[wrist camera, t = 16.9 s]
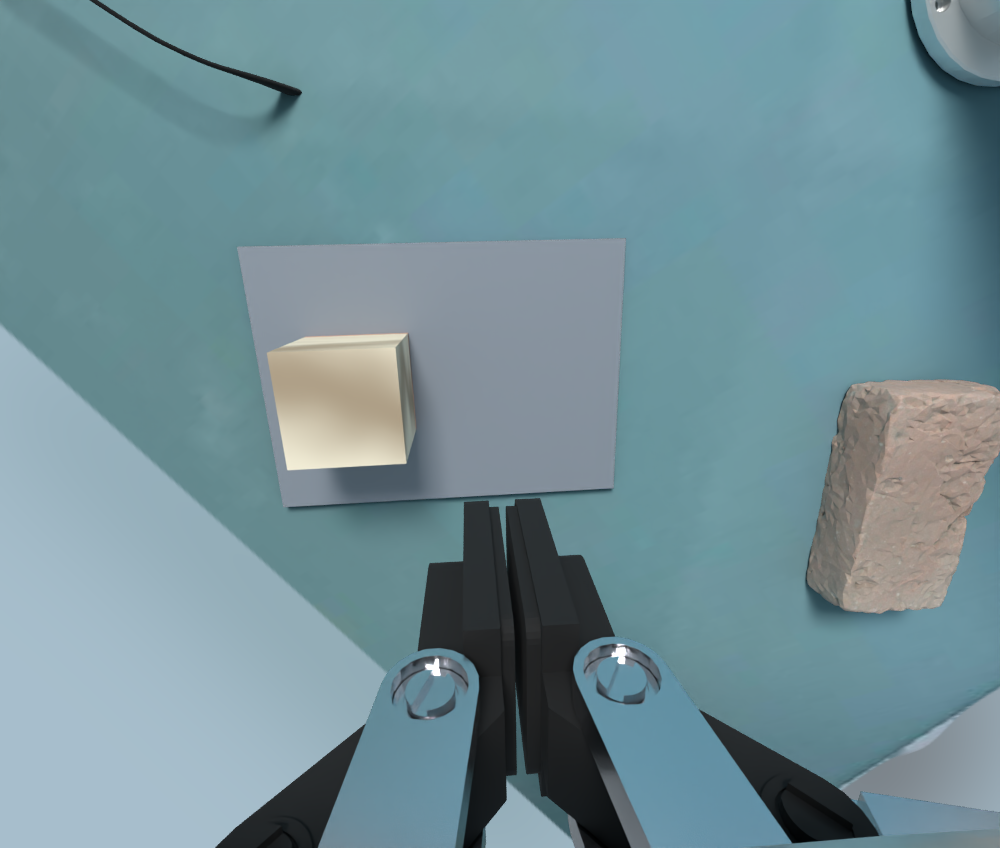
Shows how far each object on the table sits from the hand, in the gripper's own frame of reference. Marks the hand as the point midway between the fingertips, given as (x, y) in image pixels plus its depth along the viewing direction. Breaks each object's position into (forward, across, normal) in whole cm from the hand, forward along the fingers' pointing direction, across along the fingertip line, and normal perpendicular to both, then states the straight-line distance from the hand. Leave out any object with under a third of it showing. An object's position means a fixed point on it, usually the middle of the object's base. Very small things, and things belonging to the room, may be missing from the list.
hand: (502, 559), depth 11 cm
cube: (+14, +7, 0) cm, 16 cm away
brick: (+22, -29, +10) cm, 37 cm away
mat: (+21, +2, 0) cm, 21 cm away
